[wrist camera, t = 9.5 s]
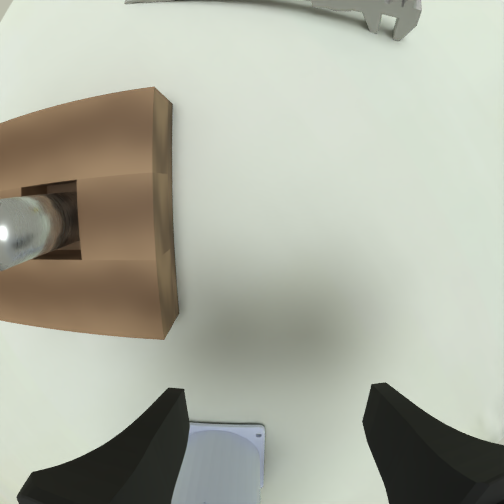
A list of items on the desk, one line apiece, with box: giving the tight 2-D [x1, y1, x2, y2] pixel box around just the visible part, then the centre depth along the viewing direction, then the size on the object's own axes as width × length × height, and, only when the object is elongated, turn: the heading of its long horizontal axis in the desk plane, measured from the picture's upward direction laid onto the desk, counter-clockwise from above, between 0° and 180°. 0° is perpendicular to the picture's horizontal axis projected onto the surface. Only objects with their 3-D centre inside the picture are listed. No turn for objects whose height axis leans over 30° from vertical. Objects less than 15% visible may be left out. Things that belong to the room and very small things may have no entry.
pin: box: [0, 192, 80, 271], centre depth 15 cm, size 3×3×8 cm
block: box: [0, 87, 179, 340], centre depth 18 cm, size 14×14×4 cm
